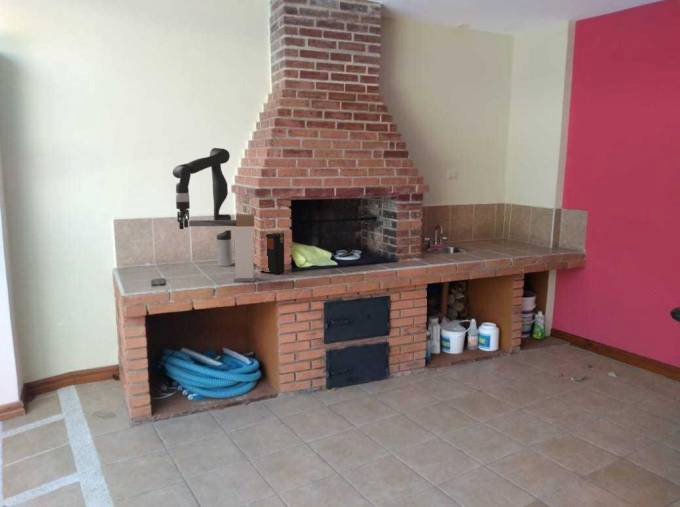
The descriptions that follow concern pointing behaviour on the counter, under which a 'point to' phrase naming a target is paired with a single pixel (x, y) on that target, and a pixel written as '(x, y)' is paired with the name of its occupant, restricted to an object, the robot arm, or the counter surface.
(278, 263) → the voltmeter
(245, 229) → the shelf stand
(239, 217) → the carriage
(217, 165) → the robot arm
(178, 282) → the counter surface
